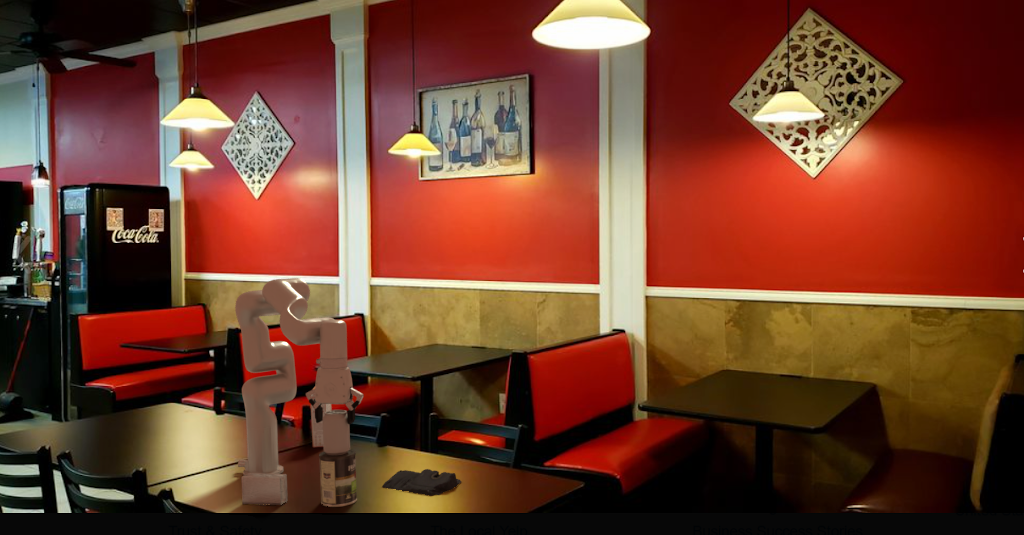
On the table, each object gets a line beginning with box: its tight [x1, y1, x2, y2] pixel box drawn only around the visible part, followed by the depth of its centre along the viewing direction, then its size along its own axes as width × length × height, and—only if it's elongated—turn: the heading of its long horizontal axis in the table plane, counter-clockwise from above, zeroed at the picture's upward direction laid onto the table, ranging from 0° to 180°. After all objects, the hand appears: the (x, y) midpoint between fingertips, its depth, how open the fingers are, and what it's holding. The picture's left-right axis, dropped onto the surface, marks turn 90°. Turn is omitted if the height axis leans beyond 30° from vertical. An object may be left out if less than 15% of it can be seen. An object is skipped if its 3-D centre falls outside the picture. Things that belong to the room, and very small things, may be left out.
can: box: [323, 409, 351, 455], centre depth 229 cm, size 8×8×12 cm
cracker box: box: [310, 386, 332, 448], centre depth 299 cm, size 14×6×21 cm, turn 5°
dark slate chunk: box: [381, 468, 462, 497], centre depth 243 cm, size 15×22×5 cm
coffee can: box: [318, 448, 358, 508], centre depth 229 cm, size 10×10×14 cm
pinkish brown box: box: [241, 473, 289, 506], centre depth 230 cm, size 12×4×8 cm, turn 78°
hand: (335, 422), depth 229 cm, fingers open, 9 cm apart
